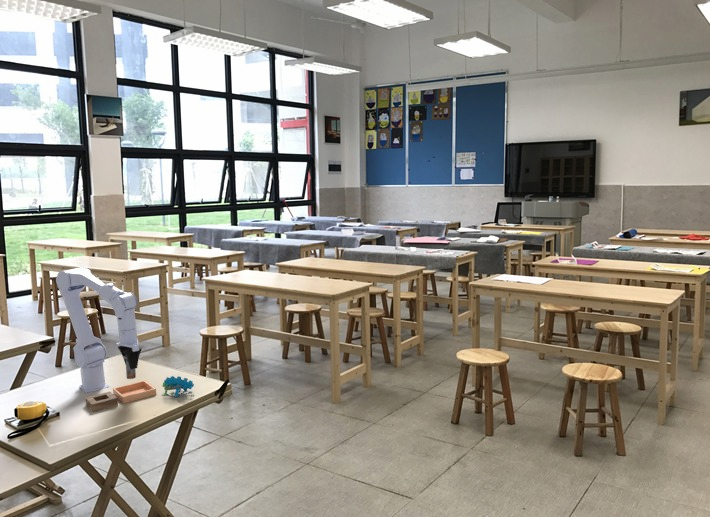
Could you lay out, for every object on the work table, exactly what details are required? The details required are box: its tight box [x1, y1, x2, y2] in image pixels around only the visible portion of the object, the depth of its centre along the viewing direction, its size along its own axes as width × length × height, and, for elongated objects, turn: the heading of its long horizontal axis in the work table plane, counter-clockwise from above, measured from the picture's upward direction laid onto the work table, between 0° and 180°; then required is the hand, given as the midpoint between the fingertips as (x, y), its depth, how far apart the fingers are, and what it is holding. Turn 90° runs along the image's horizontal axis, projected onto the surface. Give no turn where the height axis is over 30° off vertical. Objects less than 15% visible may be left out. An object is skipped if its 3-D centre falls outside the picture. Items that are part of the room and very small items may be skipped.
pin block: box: [84, 391, 119, 413], centre depth 202 cm, size 8×8×3 cm
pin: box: [122, 355, 137, 380], centre depth 208 cm, size 4×4×8 cm
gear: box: [161, 375, 195, 398], centre depth 209 cm, size 11×6×10 cm
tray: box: [112, 380, 157, 404], centre depth 210 cm, size 11×11×2 cm
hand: (131, 366), depth 209 cm, fingers closed on pin, 4 cm apart
